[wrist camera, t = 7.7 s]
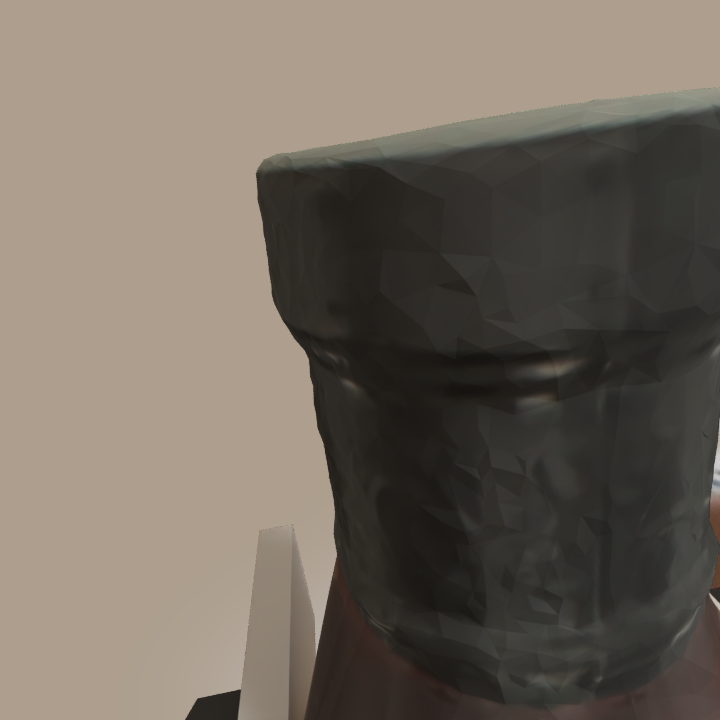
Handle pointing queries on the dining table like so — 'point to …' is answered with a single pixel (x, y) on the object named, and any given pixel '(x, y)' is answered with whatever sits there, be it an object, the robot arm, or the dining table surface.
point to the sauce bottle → (514, 409)
